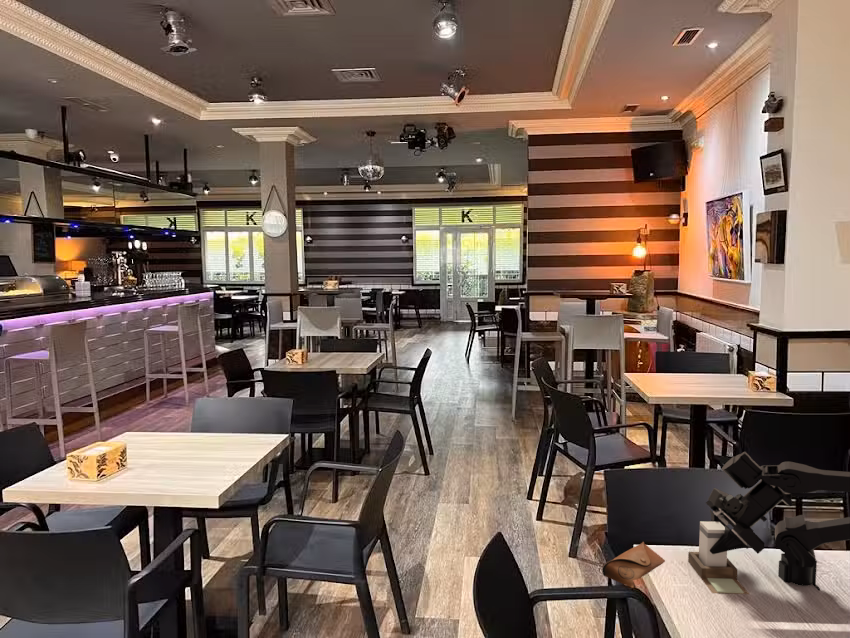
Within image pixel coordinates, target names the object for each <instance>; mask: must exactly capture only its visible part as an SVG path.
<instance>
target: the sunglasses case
mask: <svg viewBox="0 0 850 638" xmlns="http://www.w3.org/2000/svg"><path fill="white" fill-rule="evenodd" d="M665 562H666V560H665V558H663V557H661V555H659V554H658V553H657V552H655V551H654V550H653V549H652V548H651V547H649V546H648V545H647V544H645V542H644V541H642V542H640V544H638V545H636V546H633V547H631V548H630V549H628V550H626V551H624V552H623V553H620V554H619V555H618V556H616V557H614V558H613V559H611V560H609V561H607V562H606V563H605V564H604V565H603V567H602V572H601V573H602V574H603V575H602V576H604V577H606V578H608V579H611V580H613V581H615V582H618V583H619V584H620V583H621V584H622V585H625V586H627V587H630V588H632V589H635V588H636V587H637V586H636V584H635V581H636V580H639V579H641V578H643V577H644V576H646V575H647V574H649V573H650V572H651V571H653V570H655V569H656V568H658V567H659V566H661V565H662V564H664V563H665Z"/></svg>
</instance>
